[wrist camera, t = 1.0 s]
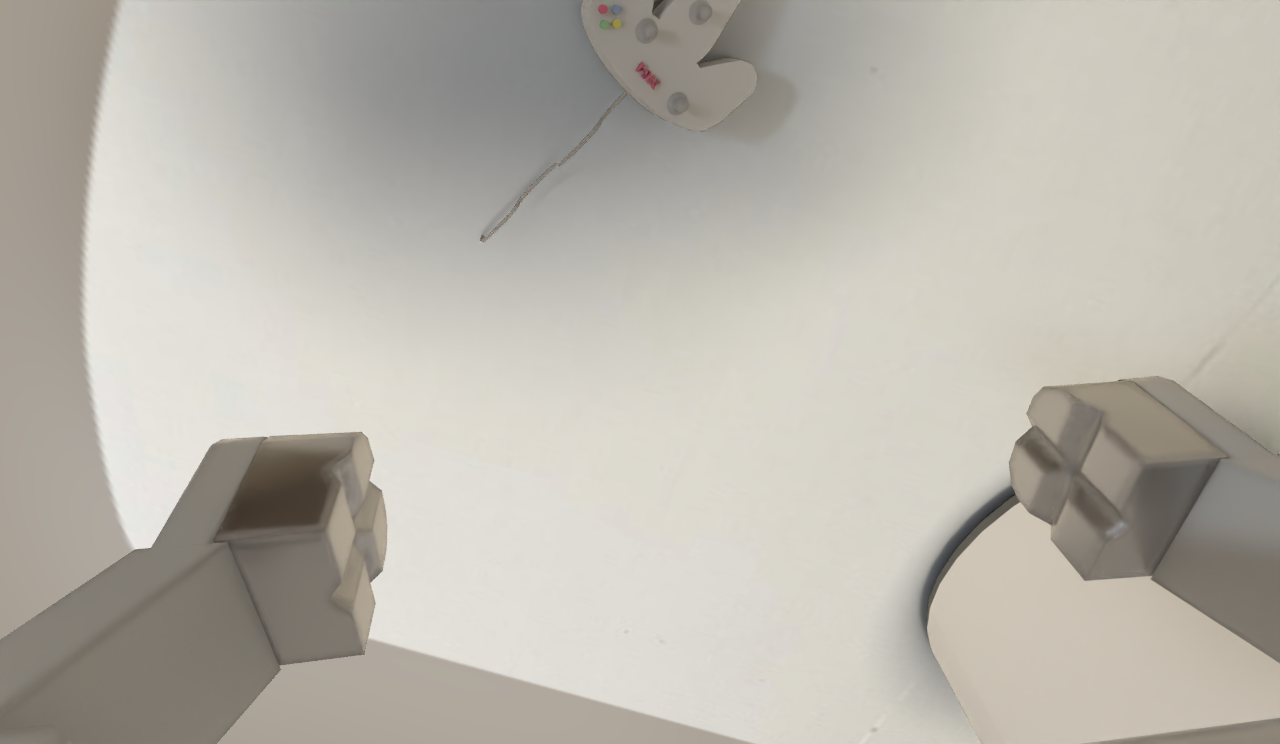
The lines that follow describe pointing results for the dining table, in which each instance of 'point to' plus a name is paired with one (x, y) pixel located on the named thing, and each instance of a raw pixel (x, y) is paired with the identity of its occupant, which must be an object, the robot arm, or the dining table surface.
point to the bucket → (1081, 646)
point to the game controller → (665, 62)
